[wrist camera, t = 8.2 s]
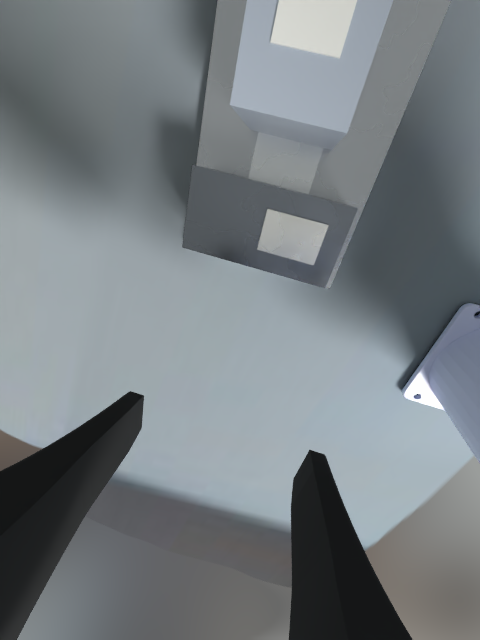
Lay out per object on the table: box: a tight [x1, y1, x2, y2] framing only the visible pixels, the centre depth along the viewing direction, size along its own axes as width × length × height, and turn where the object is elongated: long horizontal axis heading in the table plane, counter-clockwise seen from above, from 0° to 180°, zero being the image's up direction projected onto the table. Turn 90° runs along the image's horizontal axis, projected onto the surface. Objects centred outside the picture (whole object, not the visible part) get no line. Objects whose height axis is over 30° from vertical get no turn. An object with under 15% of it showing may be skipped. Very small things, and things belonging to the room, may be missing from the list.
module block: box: [230, 0, 393, 150], centre depth 10 cm, size 4×7×5 cm, turn 167°
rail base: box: [182, 0, 452, 289], centre depth 11 cm, size 10×21×4 cm, turn 167°
